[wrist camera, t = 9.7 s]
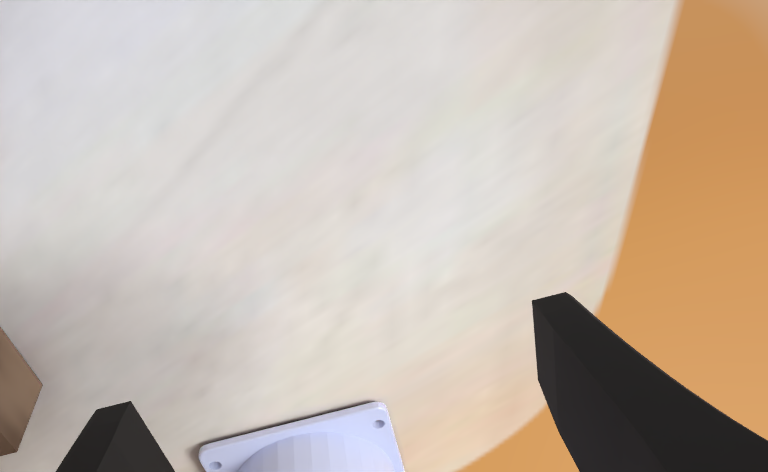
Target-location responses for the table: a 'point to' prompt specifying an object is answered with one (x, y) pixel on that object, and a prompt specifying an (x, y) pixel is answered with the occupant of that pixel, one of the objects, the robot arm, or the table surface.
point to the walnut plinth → (15, 395)
